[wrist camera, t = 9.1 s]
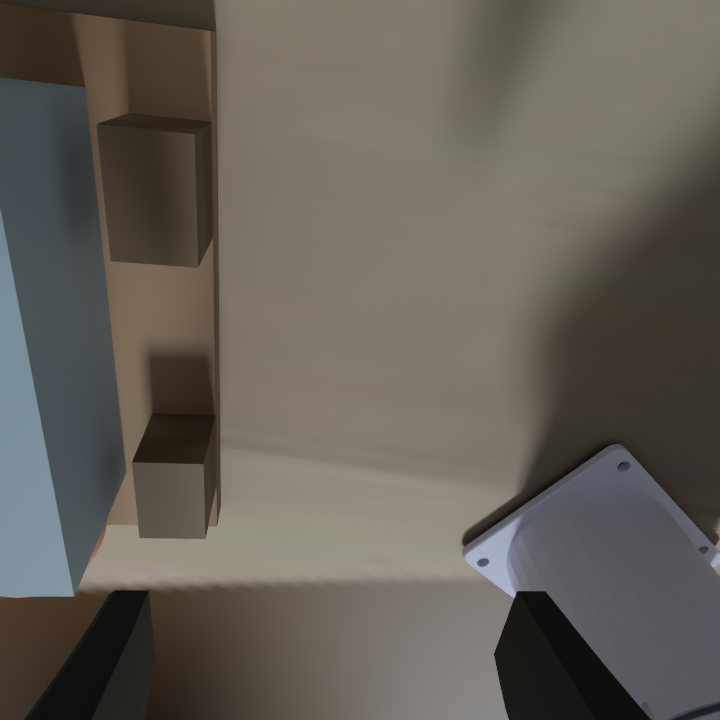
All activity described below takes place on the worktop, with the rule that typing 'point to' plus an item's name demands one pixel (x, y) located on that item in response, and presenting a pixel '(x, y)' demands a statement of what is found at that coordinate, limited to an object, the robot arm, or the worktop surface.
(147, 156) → the cradle jig
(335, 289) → the worktop surface
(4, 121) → the pale blue rectangular prism
